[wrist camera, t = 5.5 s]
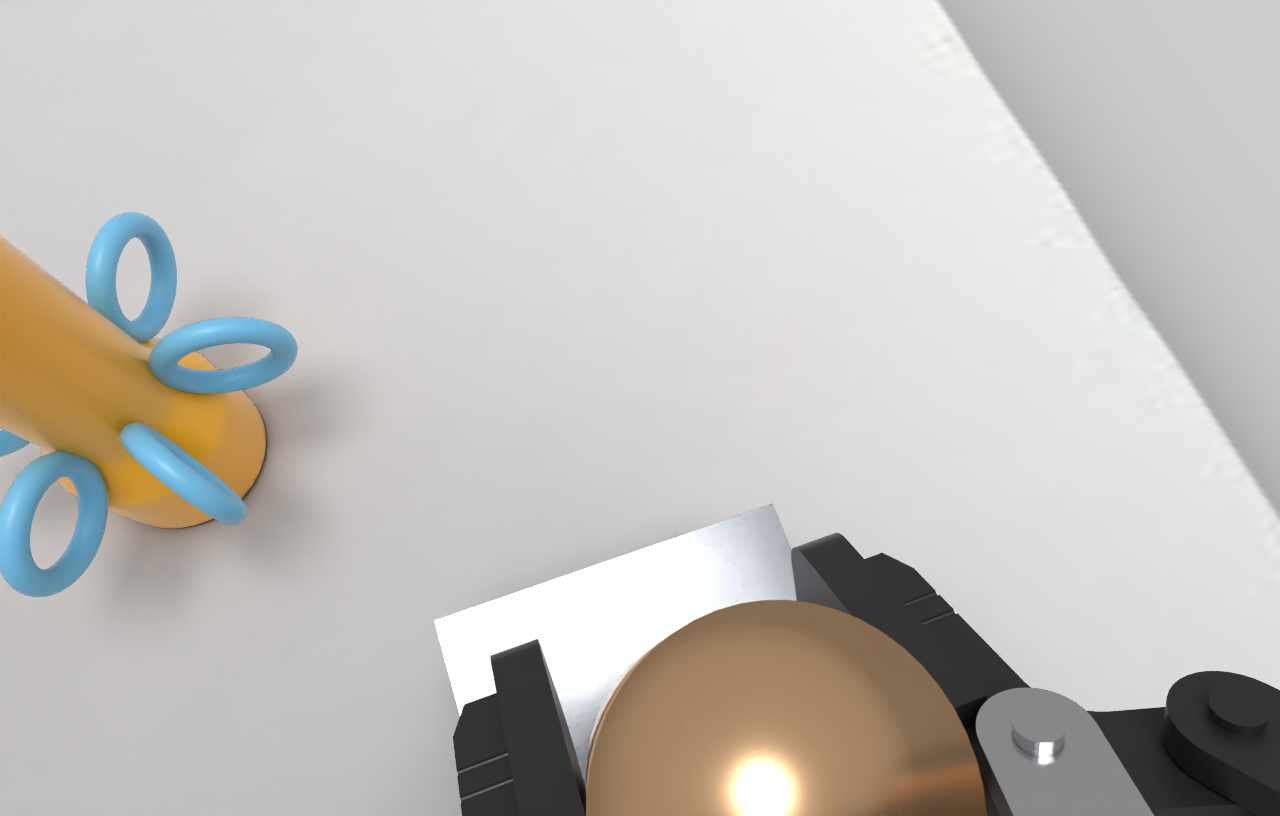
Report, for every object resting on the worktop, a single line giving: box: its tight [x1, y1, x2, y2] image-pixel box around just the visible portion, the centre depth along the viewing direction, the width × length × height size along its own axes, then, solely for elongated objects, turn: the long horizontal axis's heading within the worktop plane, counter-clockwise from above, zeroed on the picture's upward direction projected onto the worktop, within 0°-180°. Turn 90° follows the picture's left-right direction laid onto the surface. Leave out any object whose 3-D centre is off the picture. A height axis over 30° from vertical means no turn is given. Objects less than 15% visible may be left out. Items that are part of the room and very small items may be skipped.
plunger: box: [586, 600, 987, 816], centre depth 16 cm, size 7×7×15 cm
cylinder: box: [0, 212, 297, 597], centre depth 25 cm, size 12×10×15 cm
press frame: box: [434, 504, 797, 787], centre depth 25 cm, size 12×9×11 cm
